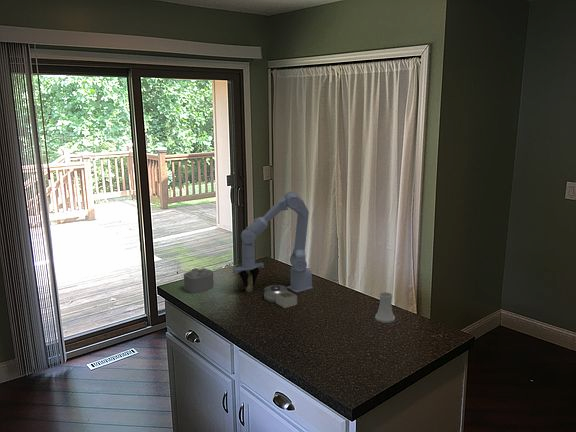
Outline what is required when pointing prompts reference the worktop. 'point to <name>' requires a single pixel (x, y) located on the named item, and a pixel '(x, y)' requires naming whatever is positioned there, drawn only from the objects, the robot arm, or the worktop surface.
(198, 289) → the lumpy-topped squat cylinder
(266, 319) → the worktop surface
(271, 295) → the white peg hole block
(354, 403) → the worktop surface
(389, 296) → the vase
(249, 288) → the key peg
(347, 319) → the worktop surface
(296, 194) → the robot arm
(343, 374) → the worktop surface
